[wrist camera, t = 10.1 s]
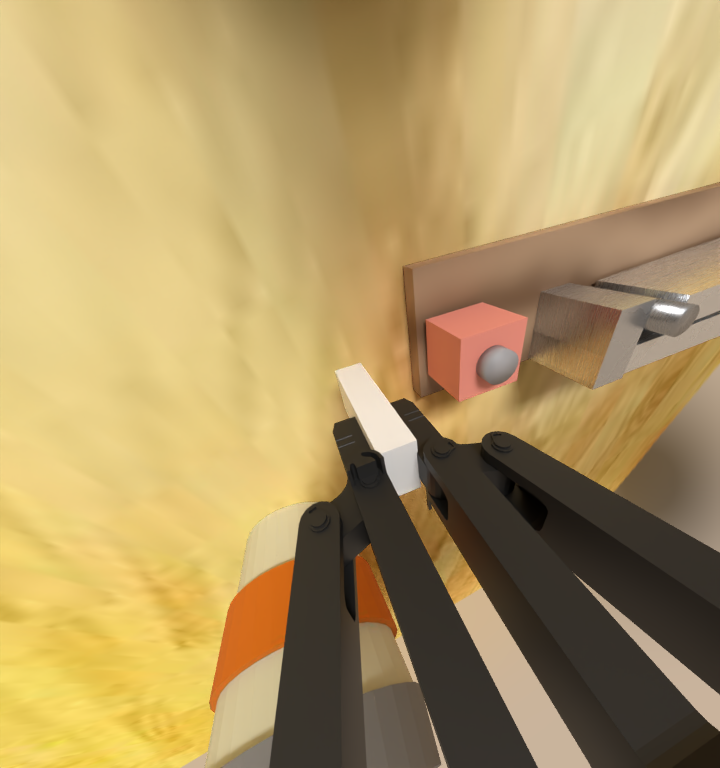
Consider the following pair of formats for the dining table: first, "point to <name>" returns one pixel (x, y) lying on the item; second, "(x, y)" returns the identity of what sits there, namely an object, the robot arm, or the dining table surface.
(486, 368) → the tab
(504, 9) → the dining table surface
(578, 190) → the dining table surface
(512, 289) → the board
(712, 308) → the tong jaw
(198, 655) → the dining table surface
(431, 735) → the reusable coffee cup
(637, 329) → the grey long bar
